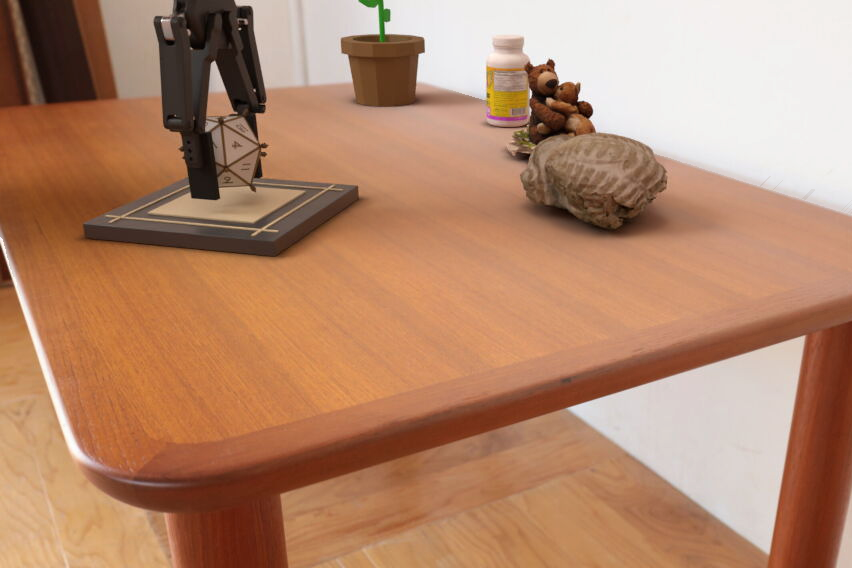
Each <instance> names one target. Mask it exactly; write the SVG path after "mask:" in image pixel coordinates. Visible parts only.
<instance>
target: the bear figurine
mask: <svg viewBox="0 0 852 568" xmlns="http://www.w3.org/2000/svg"><path fill="white" fill-rule="evenodd" d="M555 67H556V63H555V61H554V60H553V59H551V58H550V57H548V59H547V61H546V63H542V64H538V65H535V66H534V64H533V63H531V60H530V61H529V62H528V63H527V64H526V65H525V66H524V69H525V71H526V72H527V74H528V83H529V88H530V92H531V95H530V100H529V103H530V104H529V105H530V111H531V112H530V117H529V122H528V124H526V131H525V129H517V130H514V131H513V135H512V138H511V139H510V141H509V142H508V143H505V146H506V148H507V150H508V152H509V153H510V155H511V156H513V157H514V156H516V155H517V153H523V154H529V155H531V154H532V152H533V151H534V149H535V147H536V146H537V145H538V144H539V143H540V142H541V141H543V140H545V139H547V138H549V137H553V136H558V135H570V136H572V137H576V136H578V135H584V134H590V133H597V130H596V128H595V125H594V124H593V122H592V121H591V117H592V116H593V114H594V109H593V106H592V104H591V103H589V102H588V101H585V100H579V94H580V93H581V85H582V83H581V82H580V81H577V82H576V84H575V82H572V81H564V82H563V83H561V84H560V80H559V76H558V74H557V72H556V68H555Z"/></svg>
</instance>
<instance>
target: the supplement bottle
mask: <svg viewBox="0 0 852 568" xmlns="http://www.w3.org/2000/svg"><path fill="white" fill-rule="evenodd" d="M492 46H493V52H492V53H491V54H489V55H488V56H487V58H486V60H485V61H486V62H485V68H486V71H485V73H486V75H485V79H486V82H485V83H486V89H485V91H486V95H485V97H486V105H485V106H486V107H485V109H486V122H487V123H488V124H489V125H491V126H493V127H498V128H519V127H523V126H525V125H526V126H527V125H528V124H529V123H530V116H531V112H530V111H531V108H530V105H529V104H530V103H529V100H530V99H531V89H530V88H529V83H528V74H527V72H526V71H525V69H524V66H525V65H526V64H527V63H528V62H529V61H530V62H531V59H530V57H529V56H528V54H526V53H525V52H524V51H523V50H524V49H523V48H524V46H525V36H524V35H518V34H497V35H493V36H492Z"/></svg>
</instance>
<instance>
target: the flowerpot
mask: <svg viewBox="0 0 852 568" xmlns="http://www.w3.org/2000/svg"><path fill="white" fill-rule="evenodd" d="M358 2H359V3H360V4H362V5H363V6H365V7H367V8H371V9H375V8H377V7H378V11H377V12H378V28H379V33H376V34H375V33H371V34H370V33H369V34H356V35H355V34H354V35H349V36H342V37H340V51H341V53H340V54H343V55H347V57H348V58H347V59H348V64H349V69H350V74H351V80H352V85H353V91H354V96H355V102H356V104H359V105H363V106H371V107H397V106H404V105H410V104H413V103H415V102H416V92H417V91H416V90H417V81H418V80H417V79H418V69H419V58H420V55H421V54H425V53H426V42H425V41H426V40H425V37H423V36H417V35H412V34H399V33H398V34H397V33H395V34H394V33H387V34H386V23H389V22H391V9H390V8H388V7H387V8H385V5H384V3H385V2H384V0H358Z"/></svg>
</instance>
